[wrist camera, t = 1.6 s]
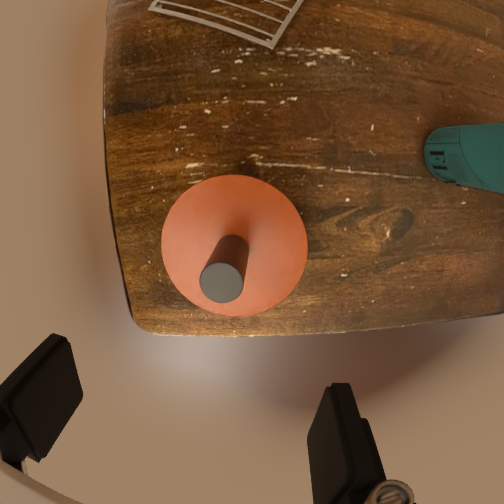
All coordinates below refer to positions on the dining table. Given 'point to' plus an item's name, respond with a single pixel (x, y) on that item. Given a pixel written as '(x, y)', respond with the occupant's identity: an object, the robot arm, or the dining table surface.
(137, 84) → the dining table surface
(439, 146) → the beverage bottle
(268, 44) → the rack
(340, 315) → the dining table surface
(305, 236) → the lid
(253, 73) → the dining table surface
